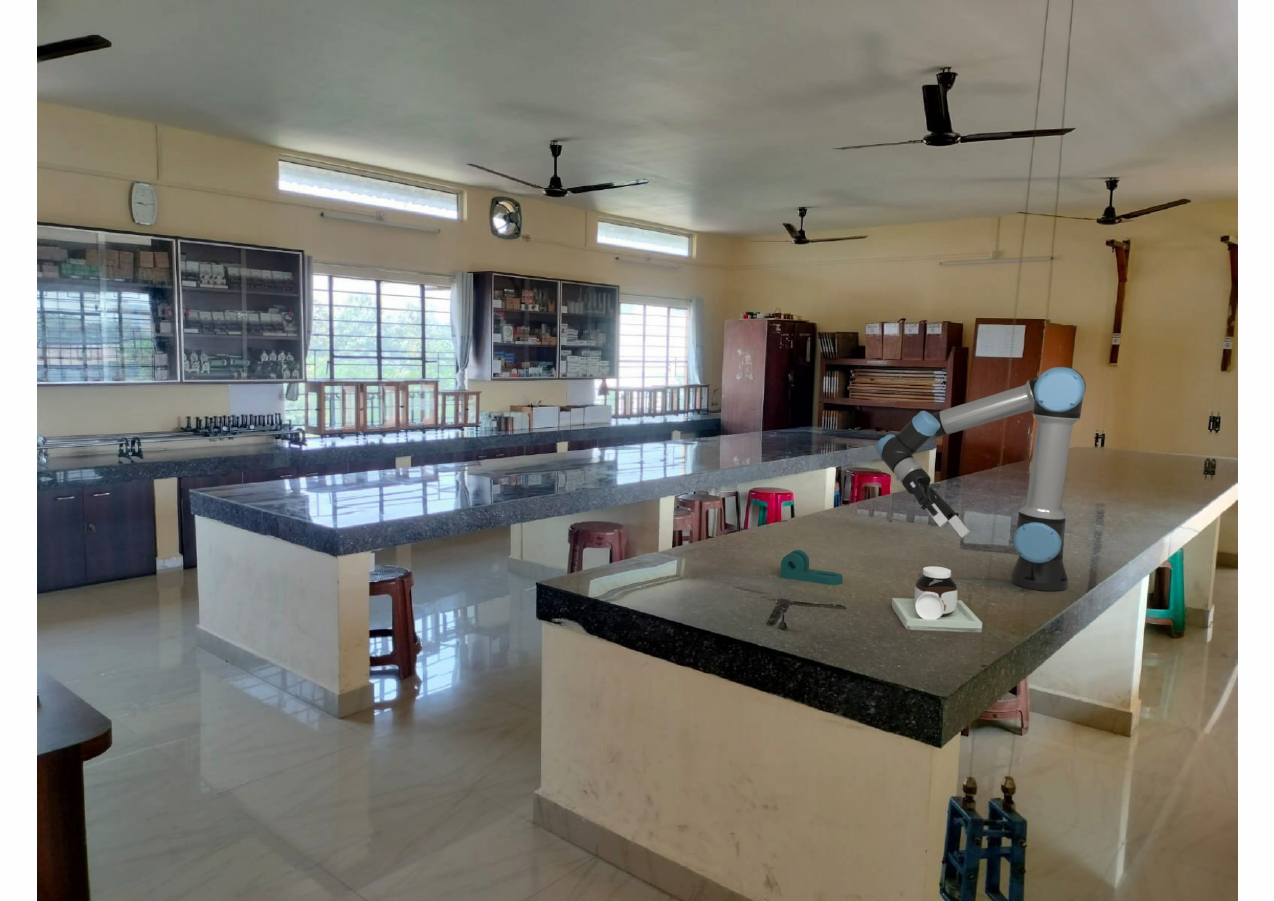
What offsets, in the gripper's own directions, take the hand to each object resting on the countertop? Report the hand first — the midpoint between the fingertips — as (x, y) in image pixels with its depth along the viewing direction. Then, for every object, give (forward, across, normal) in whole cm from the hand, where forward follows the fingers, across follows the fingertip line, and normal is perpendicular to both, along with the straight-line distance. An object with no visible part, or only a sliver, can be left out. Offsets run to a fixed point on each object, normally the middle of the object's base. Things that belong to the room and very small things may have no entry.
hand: (955, 529), depth 221 cm
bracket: (-14, +6, -42) cm, 45 cm away
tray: (+21, +12, -16) cm, 29 cm away
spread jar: (+20, +12, -16) cm, 29 cm away
